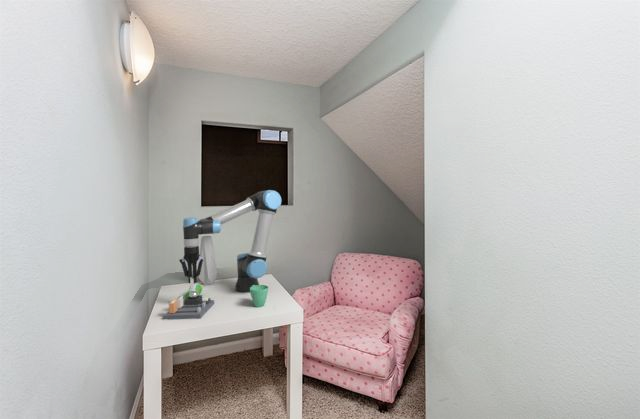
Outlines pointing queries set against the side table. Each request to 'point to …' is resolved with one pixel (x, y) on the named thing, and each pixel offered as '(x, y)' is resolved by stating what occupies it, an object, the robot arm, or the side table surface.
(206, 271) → the vase
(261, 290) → the mug
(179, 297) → the fader
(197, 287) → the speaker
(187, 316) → the panel
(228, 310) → the side table surface
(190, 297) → the button
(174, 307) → the fader
